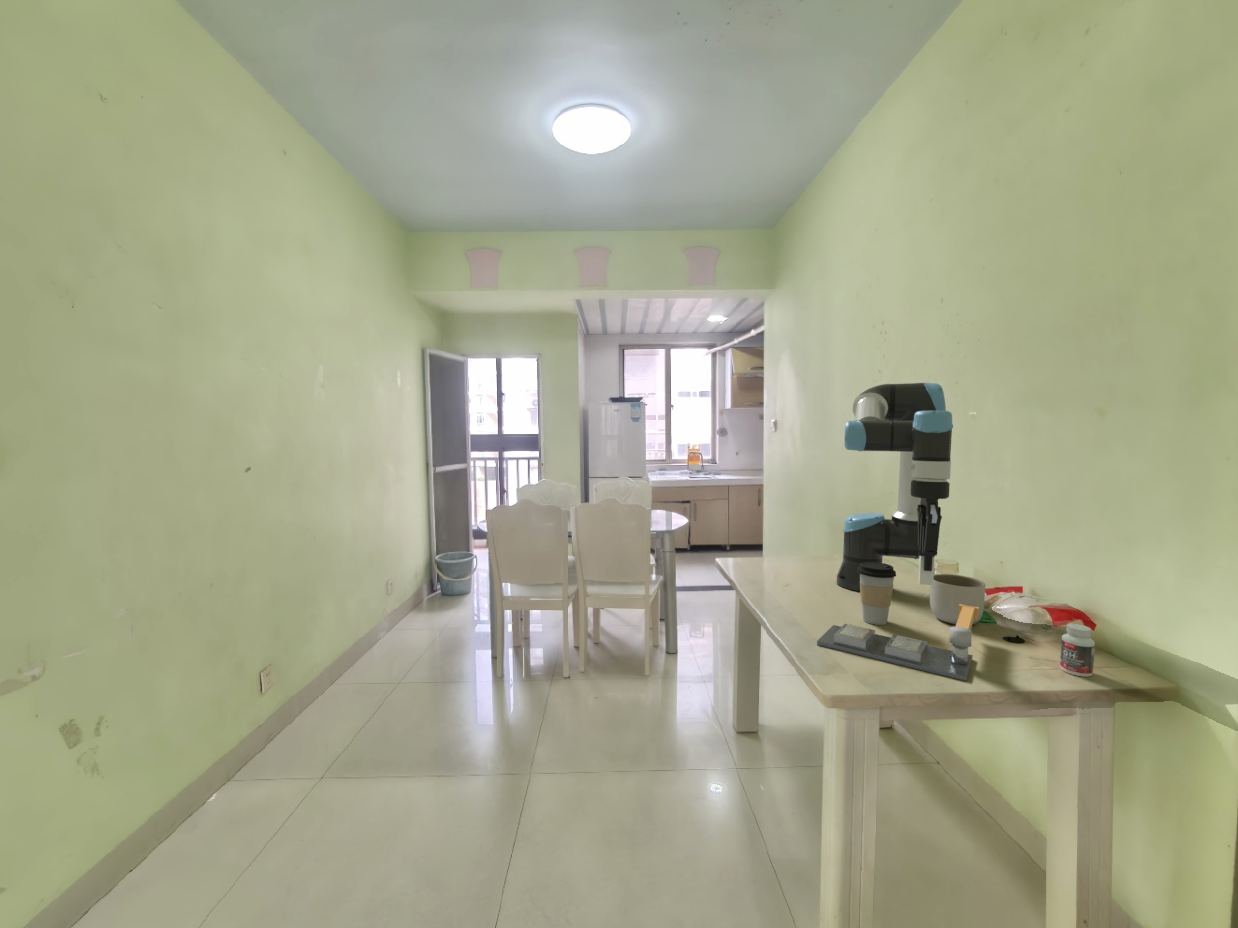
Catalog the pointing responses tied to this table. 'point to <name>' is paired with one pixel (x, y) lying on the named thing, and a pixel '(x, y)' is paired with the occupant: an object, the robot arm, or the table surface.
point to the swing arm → (963, 626)
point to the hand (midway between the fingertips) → (925, 583)
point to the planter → (955, 596)
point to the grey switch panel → (899, 650)
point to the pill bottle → (1077, 651)
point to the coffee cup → (876, 591)
